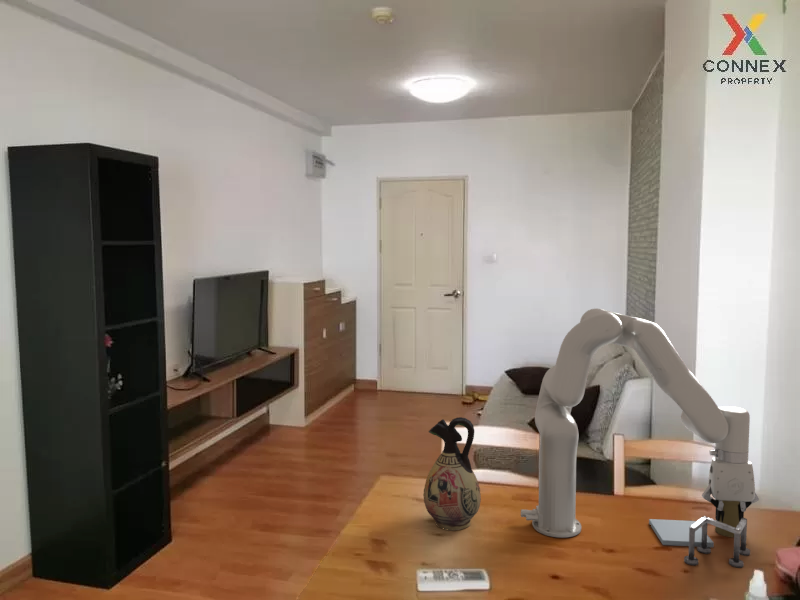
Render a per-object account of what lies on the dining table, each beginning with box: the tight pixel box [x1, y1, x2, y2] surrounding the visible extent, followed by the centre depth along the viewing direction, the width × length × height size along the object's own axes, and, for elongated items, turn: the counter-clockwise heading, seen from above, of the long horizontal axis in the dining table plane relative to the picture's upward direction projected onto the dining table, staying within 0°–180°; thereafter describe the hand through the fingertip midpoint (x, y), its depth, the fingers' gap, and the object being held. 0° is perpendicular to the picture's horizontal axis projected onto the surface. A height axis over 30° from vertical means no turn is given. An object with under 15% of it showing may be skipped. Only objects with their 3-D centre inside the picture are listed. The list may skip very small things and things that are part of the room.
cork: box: [714, 501, 741, 538], centre depth 156 cm, size 6×6×11 cm
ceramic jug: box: [422, 416, 482, 531], centre depth 161 cm, size 17×15×30 cm
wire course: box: [683, 515, 751, 569], centre depth 144 cm, size 17×9×9 cm, turn 83°
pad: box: [648, 518, 715, 548], centre depth 155 cm, size 12×12×1 cm
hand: (729, 523), depth 157 cm, fingers closed on cork, 3 cm apart
